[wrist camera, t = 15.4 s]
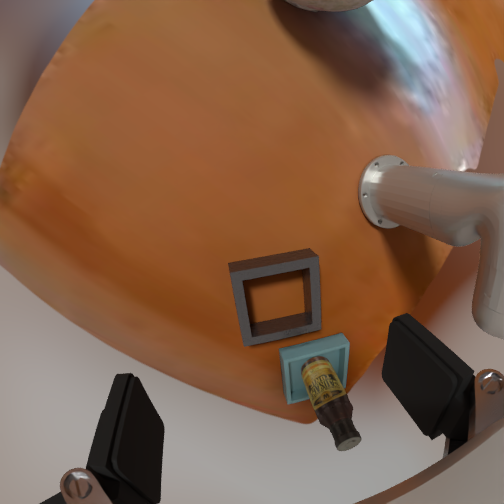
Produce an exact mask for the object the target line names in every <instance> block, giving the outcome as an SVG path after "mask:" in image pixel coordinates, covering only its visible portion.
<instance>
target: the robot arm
mask: <svg viewBox="0 0 504 504" xmlns="http://www.w3.org/2000/svg"><path fill="white" fill-rule="evenodd" d="M358 194H359V202H360V206H361V208H362V211H363V213H364V214H365V216H366V217H367V218H368V220H369V221H370V222H372V223H373V224H375V225H377V226H379V227H382V228H388V229H390V228H395V227H397V226H400V225H402V226H404V227H407V228H409V229H412V230H414V231H417V232H419V233H422V234H424V235H427V236H429V237H432V238H434V239H436V240H439V241H441V242H444V243H446V244H449V245H452V246H465V245H468V244H471V243H473V242H475V241H477V240H478V239H480V238H481V246H480V260H479V266H478V273H477V279H476V284H475V289H474V294H473V301H472V314H473V318H474V320H475V322H476V324H477V325H478V326H479V327H480V328H481V329H482V330H483V331H485V332H486V333H488V334H490V335H492V336H495V337H498V338H501V339H504V174H481V173H471V172H462V171H455V170H446V169H437V168H427V167H417V166H409V165H408V164H407V163H406V162H405V161H404V160H402V159H401V158H399V157H396V156H391V155H383V156H380V157H377V158H375V159H374V160H372V161H371V162H370V163H369V164H368V165H367V166H366V168H365V169H364V171H363V173H362V175H361V178H360V182H359V189H358ZM363 194H364V195H363ZM473 373H474V370H472V369H471V368H470V367H469V366H468V365H467V364H466V363H465V362H464V361H463V360H461V359H460V358H459V357H458V356H457V355H456V354H455V353H454V352H453V351H451V350H450V349H449V348H448V347H447V346H446V345H445V344H444V343H442V342H441V341H440V340H439V339H438V338H436V336H434V335H433V334H432V333H431V332H430V331H429V330H427V329H426V328H425V327H424V326H423V325H421V324H420V323H419V322H418V321H417V320H415V319H414V318H413V317H412V316H411V315H410V314H408V313H405V314H403V315H400V316H397V317H395V318H394V319H393V320H392V322H391V323H390V326H389V333H388V339H387V346H386V352H385V358H384V363H383V369H382V378H383V380H384V382H385V383H386V384H387V386H388V387H389V388H390V390H391V391H392V392H393V394H394V395H395V396H396V398H397V399H398V400H399V401H400V403H401V404H402V406H403V407H404V408H405V410H406V411H407V412H408V414H409V415H410V416H411V418H412V419H413V420H414V422H415V423H416V424H417V426H418V427H419V429H420V430H421V431H422V432H423V434H424V435H426V436H429V437H430V438H431V440H433V439H435V438H436V437H438V436H440V435H441V434H442V433H443V434H444V435H445V436H446V441H445V448H444V454H443V459H441V460H440V461H438V462H437V463H435V464H433V465H432V466H430V467H428V468H427V469H425V470H423V471H422V472H420V473H418V474H417V475H415V476H413V477H411V478H409V479H407V480H405V481H403V482H402V483H400V484H397V485H395V486H394V487H391V488H390V489H387V490H385V491H383V492H381V493H378V494H376V495H374V496H372V497H369V498H367V499H364V500H362V501H359V502H357V503H355V504H504V376H503V375H502V374H501V373H500V372H499V371H496V370H493V369H484V370H482V371H480V372H479V373H478V374H477V376H476V377H475V376H474V375H473ZM163 442H164V424H163V421H162V420H161V418H160V416H159V414H158V413H157V411H156V409H155V408H154V406H153V404H152V402H151V400H150V399H149V397H148V395H147V393H146V391H145V389H144V387H143V386H142V383H141V381H140V379H139V378H138V377H134V375H133V374H131V373H126V374H117V375H116V376H115V378H114V381H113V384H112V387H111V390H110V393H109V396H108V399H107V402H106V406H105V409H104V410H103V411H102V413H101V416H100V419H99V422H98V425H97V429H96V432H95V436H94V439H93V443H92V446H91V450H90V454H89V458H88V462H87V466H86V469H83V468H74V469H71V470H69V471H68V472H66V473H65V474H64V475H63V477H62V479H61V481H60V490H61V492H59V493H58V494H56V495H54V496H52V497H51V498H49V499H47V500H45V501H44V502H42V503H40V504H158V503H160V499H161V498H160V497H161V473H162V456H163Z"/></svg>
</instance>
